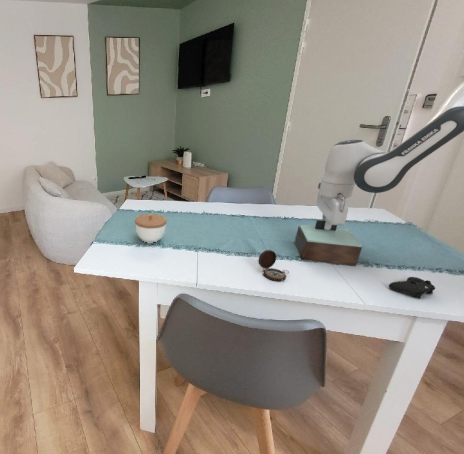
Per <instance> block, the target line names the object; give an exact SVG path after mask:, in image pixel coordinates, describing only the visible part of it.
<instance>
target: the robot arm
mask: <svg viewBox="0 0 464 454" xmlns="http://www.w3.org/2000/svg"><path fill="white" fill-rule="evenodd" d="M462 134H464V80H463V81H462V82H460V83H459V84H458V85H457V86H455V88H454V89H452V90H451V91H450V92H449V93H448V94H447V95H446V96H445V97H444V98H443V99H442V100H441V101H440V102H439V103H438V105H437V107H436V109H435V111H434V113H433V114H432V116H431V117H430V119H429V120H428V121H427V122H426V123H425V124H424V125H423V126H422V127H421V128H419V130H417V131H416V132H415V133H413V134H412V135H410V136H409V137H407V139H405V140H404V141H403V142H401V143H400V144H398V145H397V146H396V147H395V148H393V149H392V150H390V151H385V150H381V149H379V148H376V147H373V146H372V145H370V144H369V143H367V142H366V141H364V139H363V140H362V139H348V140H343V141H339V142H337V143H335V144H333V146H332V147H331V149H330V151H329V153H328V156H327V158H326V162H325V166H324V170H325V172H324V175H323V177H322V178H321V182H318V184H317V189H318V192H317V199H316V207H317V208H318V209H319V211H320V212H321V220H322V221H326V223H324V229H325V230H330V229H331V226H332V225H337V226H344V225H345V223H346V221H347V217H348V212H349V202H348V201H347V200H346V199H348V198H351V197H352V196H353V193H354V192H353V191H354V188H355V186H357V188H359V189H360V190H362V191H364V192H367V193H370V194H380V193H386V192H388V191H391V190H392V189H394V188H396V187H397V186H398V185H399V183H401V182H402V180H403V178H404V177H405V176H406V174H407V173H408V171H409V170H410V169H412V168H413V167H414V166H416V165H417V164H418V163H419V162H421V161H423V160H424V159H425V158H427V157H428V156H430V155H431V154H432V153H434V152H436V151H437V150H439V149H440V148H441V147H443V146H445V145H446V144H447V143H448V142H450V141H451V140H453V139H455V138H457V137H459V136H461V135H462Z"/></svg>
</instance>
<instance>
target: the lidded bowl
mask: <svg viewBox="0 0 464 454" xmlns="http://www.w3.org/2000/svg"><path fill="white" fill-rule="evenodd" d="M167 221H168V220H167V218H166V217H164V216H163V215H160V214H156V213H146V214H141V215H138V216H136V217H135V219H134V223H135V225H134V226H135V227H134V228H135V232H136V235H137V237H138V238H139V239H140V240H141V241H142V242H143V241H144V242H143V243H145V242H147V243H146V244H154V243H153V242H156V243H158V242H159V241H160V240H161V239H162V238H163V237H164V236H165V233H166V230H167ZM158 240H159V241H158ZM157 241H158V242H157Z"/></svg>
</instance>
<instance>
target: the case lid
mask: <svg viewBox="0 0 464 454" xmlns="http://www.w3.org/2000/svg"><path fill="white" fill-rule="evenodd" d="M324 223H326V221H322V219H317V220H315V225H306V224H299V226H300V228H301V230H302V232H303V234H304V236H305V238H306V240H307V241H308V242H317V243H327V244H337V245H346V246H356V247H362V248H363V244H362V243H361V242H360V241H359V240H358V238H357V237H356V236H355V234H353V233H352V232H351V230H350V229H349V228H340V227H338V225H332V226H331V229H330V230H325V229H324Z"/></svg>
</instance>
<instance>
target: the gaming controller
mask: <svg viewBox="0 0 464 454" xmlns="http://www.w3.org/2000/svg"><path fill="white" fill-rule="evenodd" d="M388 288H389V289H390V290H392V291H395V292H400V293H404V294H405V293H406V294H408V295H410V296H412V297H414V298H417V299H421V297H422V295H424V294H430V295H433V294H434V291H435V290H436V287H435V285H433V284H432V282H431V281H430V280H424V279H422V278H420V277H418V276H417V277H416V276H409V277H407V278H406V280H403V281H402V280H401V281H400V280H399V281H393V282H391V283H389V284H388Z"/></svg>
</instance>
